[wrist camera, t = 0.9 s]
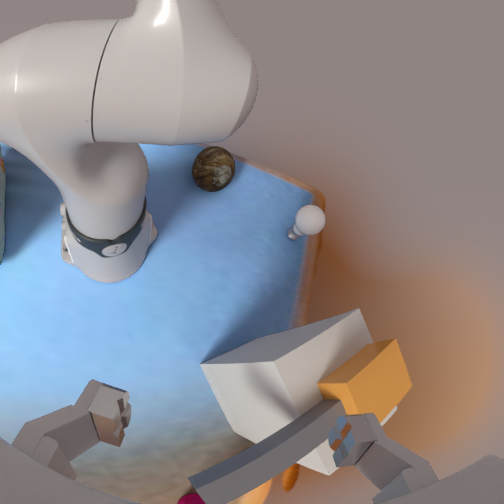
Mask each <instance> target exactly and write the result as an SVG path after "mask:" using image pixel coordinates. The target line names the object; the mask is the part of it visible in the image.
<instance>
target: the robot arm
mask: <svg viewBox="0 0 504 504" xmlns="http://www.w3.org/2000/svg"><path fill="white" fill-rule="evenodd" d="M134 1H135V3H136V5H137V6H136V9H135V12H134V14H133V15H132V16H131V17H129V18H122V19H120V20H78V21H65V22H56V23H49V24H45V25H42V26H39V27H36V28H33V29H31V30H28V31H25V32H23V33H21V34H18V35H16V36H14V37H12V38H10V39H8V40H6V41H4V42H2V43H1V44H0V142H2V143H4V144H6V145H8V146H10V147H12V148H14V149H15V150H17V151H18V152H20V153H21V154H23V155H24V156H26V157H27V158H28V159H29V160H31V161H32V162H33V163H34V164H35V165H36V166H38V167H39V168H40V169H41V170H42V171H43V172H44V173H45V174H46V175H47V176H48V177H49V178H50V179H51V180H52V181H53V182H54V183H55V185H56V186H57V187H58V189H59V190H60V193H61V195H62V198H63V200H64V202H63V203H61V206H60V211H61V215H62V216H63V222H62V246H61V256H62V259H63V261H64V262H65V263H67V264H70V265H73V266H76V267H77V268H78V269H80V270H81V271H82V272H83V273H84V274H85V275H86V276H88V277H89V278H91V279H93V280H95V281H98V282H103V283H114V282H119V281H122V280H124V279H126V278H128V277H130V276H131V275H133V274H134V273H135V272H136V271H137V270H138V269H139V268H140V266H141V265H142V263H143V261H144V259H145V257H146V253H147V250H148V247H149V246H150V245H151V243H152V242H153V241H154V240H155V239H156V237H157V228H156V227H155V225H154V223H153V221H152V215H151V214H149V213H148V211H147V205H146V196H145V193H146V187H147V181H148V175H149V168H148V163H147V160H146V157H145V155H144V153H143V151H142V149H141V148H140V146H139V145H138V143H141V144H156V145H168V146H173V145H186V144H200V143H212V142H221V141H223V140H225V139H226V138H228V137H229V136H230V135H232V134H233V133H234V132H235V131H236V130H237V129H238V128H239V127H240V126H241V125H242V124H243V123H244V121H245V120H246V118H247V117H248V115H249V113H250V112H251V110H252V108H253V105H254V102H255V99H256V95H257V90H258V74H257V70H256V66H255V63H254V60H253V57H252V56H251V54H250V52H249V50H248V49H247V48H246V47H245V46H244V45H243V43H242V42H241V41H240V40H239V39H238V38H237V36H236V35H235V33H234V32H233V31H232V29H231V28H230V26H229V24H228V23H227V21H226V19H225V17H224V15H223V13H222V11H221V9H220V6H219V3H218V1H217V0H134ZM66 249H68V251H66ZM129 398H130V397H129V392H128V391H125V390H122V389H119V388H116V387H113V386H110V385H107V384H105V383H101V382H99V381H96V380H93V379H92V380H91V381H89V383H88V384H87V386H86V387H85V389H84V391H83V392H82V394H81V395H80V397H79V399H78V400H77V402H76V404H75V405H74V406H73V405H69V406H67V407H64V408H62V409H59V410H57V411H55V412H52V413H50V414H47V415H45V416H42V417H40V418H37V419H34V420H32V421H29V422H26V423H25V424H24V426H23V427H22V429H21V430H20V432H19V433H18V435H17V436H16V438H15V439H14V441H13V443H12V444H9V443H8V442H7V441H5V440H4V439H2V438H1V437H0V504H140V503H136V502H133V501H129V500H126V499H123V498H120V497H116V496H113V495H111V494H108V493H105V492H102V491H100V490H97V489H94V488H92V487H89V486H87V485H85V484H82V483H80V482H78V481H75V478H76V476H77V475H76V473H75V471H74V469H73V468H72V466H71V465H70V463H69V462H70V461H71V460H73V459H74V458H76V457H77V456H79V455H80V454H82V453H84V452H85V451H87V450H88V449H90V448H91V447H93V446H94V445H96V444H97V443H99V441H102V442H105V443H108V444H111V445H115V446H118V447H120V446H121V443H122V440H123V438H124V435H125V434H124V428H126V427H128V424H129V421H130V417H131V405H130V404H129V403H128V400H129ZM336 422H337V425H336V426H334V427H333V428H332V429H331V431H330V432H329V437H328V442H329V446H330V448H331V449H332V450H333V451H335V452H334V454H333V459H334V462H335V465H336V467H345V466H354V465H355V466H354V467H355V468H356V469H358V470H359V471H360V472H361V473H362V474H363V475H364V476H365V477H366V478H367V479H368V480H370V481H371V482H372V483H373V484H374V485H375V486H376V487H377V488H379V489H380V490H381V491H380V492H379V493H377V494H376V495H375V496H374V497H373V499H372V500H373V503H374V504H504V459H501V458H499V457H497V456H494V455H487V456H485V457H483V458H481V459H480V460H478V461H476V462H475V463H473V464H471V465H469V466H467V467H466V468H464V469H462V470H460V471H458V472H456V473H454V474H452V475H450V476H448V477H446V478H444V479H442V480H438V478H437V476H436V474H435V472H434V471H433V469H432V467H431V465H430V463H429V462H428V461H427V460H425V459H424V458H422V457H420V456H418V455H417V454H415V453H413V452H412V451H410V450H409V449H407V448H405V447H404V446H402V445H400V444H399V443H397V442H396V441H394V440H393V439H391V438H390V439H388V438H387V436H386V434H385V432H384V430H383V428H382V426H381V424H380V423H379V421H378V419H377V417H376V415H375V414H374V413H365V414H352V415H341V416H340V417H338V419H337V420H336Z"/></svg>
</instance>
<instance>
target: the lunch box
mask: <svg viewBox="0 0 504 504" xmlns="http://www.w3.org/2000/svg"><path fill="white" fill-rule="evenodd" d="M5 188H6V176H5V166H4V161H3V156H2V152H1V147H0V265H1V263H2V259H3V252H4V247H5V220H4V211H5Z"/></svg>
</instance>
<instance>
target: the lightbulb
mask: <svg viewBox="0 0 504 504" xmlns="http://www.w3.org/2000/svg"><path fill="white" fill-rule="evenodd" d="M325 222H326V218H325V214H324V212H323V211H322V209H321V208H319V207H318V206H316V205H312V204H309V205H305V206H303V207H301V208H300V209H299V210H298V212H297V213H296V217H295V223H294V225H293V227H292V228H290V229H289V230H288V232H287V234H288V236H289V238H290V239H292V240H296V239H297V238H298V237H300V236H302V235H305V234H306V235H315V234H317V233H319V232H320V231H321V230H322V229H323V228H324V226H325Z"/></svg>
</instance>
